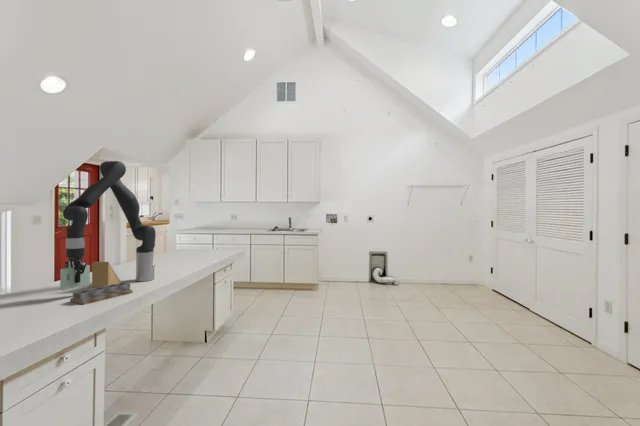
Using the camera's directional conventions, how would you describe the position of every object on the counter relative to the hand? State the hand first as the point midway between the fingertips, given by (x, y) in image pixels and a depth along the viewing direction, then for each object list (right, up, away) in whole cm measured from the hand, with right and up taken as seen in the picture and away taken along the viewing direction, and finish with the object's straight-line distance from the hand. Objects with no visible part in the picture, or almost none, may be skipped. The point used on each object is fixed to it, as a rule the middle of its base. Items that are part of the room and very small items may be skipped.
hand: (75, 282), depth 163 cm
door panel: (0, -3, 0) cm, 3 cm away
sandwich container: (+1, -7, +23) cm, 25 cm away
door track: (+13, -7, +1) cm, 15 cm away
